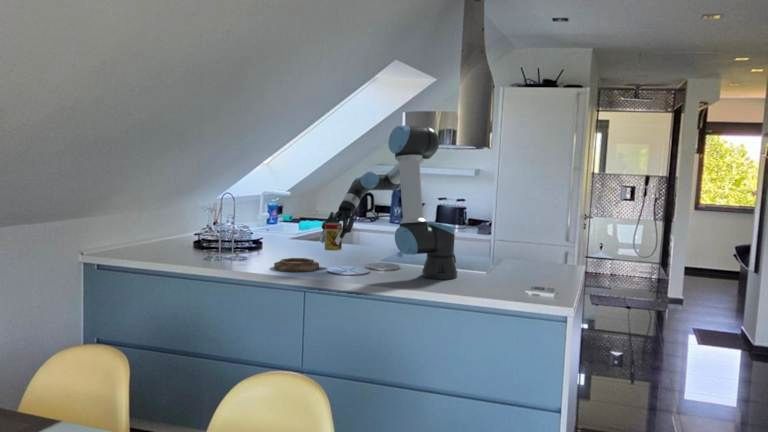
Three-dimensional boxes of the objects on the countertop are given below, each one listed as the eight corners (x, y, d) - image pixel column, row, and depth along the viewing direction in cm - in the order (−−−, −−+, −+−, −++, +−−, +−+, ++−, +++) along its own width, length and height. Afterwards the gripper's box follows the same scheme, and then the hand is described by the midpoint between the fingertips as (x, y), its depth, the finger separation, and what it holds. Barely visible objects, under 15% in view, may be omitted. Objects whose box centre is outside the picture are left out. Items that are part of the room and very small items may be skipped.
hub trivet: (328, 269, 282) (328, 261, 282) (291, 274, 268) (291, 266, 268) (301, 262, 296) (301, 255, 296) (265, 267, 283) (265, 259, 282)
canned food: (343, 250, 285) (343, 224, 284) (325, 250, 284) (326, 224, 283) (340, 248, 293) (340, 222, 292) (323, 248, 291) (323, 222, 290)
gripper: (370, 211, 295) (350, 249, 282) (334, 209, 305) (314, 245, 293) (364, 200, 290) (344, 238, 277) (328, 199, 300) (307, 235, 288)
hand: (328, 242), depth 285 cm, fingers closed on canned food, 8 cm apart
